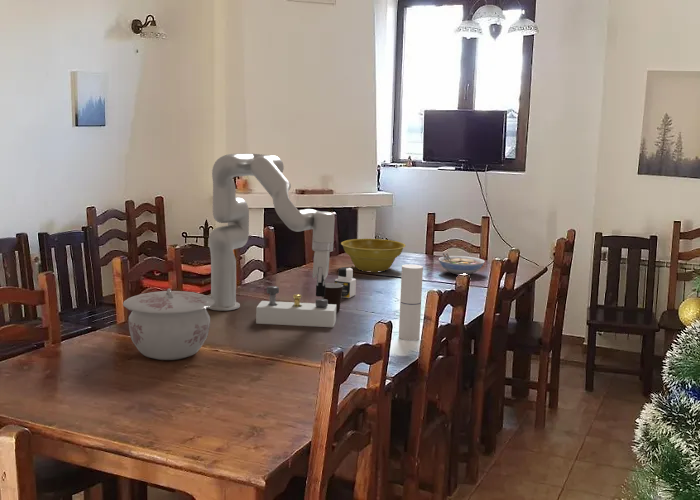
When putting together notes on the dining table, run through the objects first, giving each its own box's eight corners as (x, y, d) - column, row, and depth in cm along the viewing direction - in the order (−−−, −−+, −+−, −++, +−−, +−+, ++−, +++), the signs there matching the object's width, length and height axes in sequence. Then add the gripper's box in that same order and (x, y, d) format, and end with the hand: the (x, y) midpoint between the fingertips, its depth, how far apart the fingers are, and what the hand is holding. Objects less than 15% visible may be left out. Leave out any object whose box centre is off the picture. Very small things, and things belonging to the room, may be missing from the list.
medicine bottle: (333, 296, 320) (334, 268, 318) (340, 293, 327) (341, 265, 325) (349, 298, 317) (350, 270, 315) (355, 295, 324) (356, 267, 322)
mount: (256, 323, 274) (256, 307, 273) (261, 316, 284) (261, 300, 283) (333, 327, 272) (333, 311, 271) (335, 320, 282) (336, 304, 281)
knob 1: (265, 308, 275) (265, 288, 274) (267, 305, 280) (267, 285, 278) (277, 309, 275) (277, 288, 274) (279, 306, 279) (279, 286, 278)
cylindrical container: (405, 341, 257) (409, 268, 253) (394, 335, 264) (398, 265, 259) (423, 339, 261) (427, 267, 256) (412, 333, 267) (415, 263, 263)
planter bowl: (383, 279, 358) (384, 251, 356) (327, 270, 376) (328, 243, 373) (415, 269, 385) (417, 243, 383) (362, 261, 402) (363, 236, 400)
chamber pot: (169, 374, 217) (169, 303, 213) (104, 356, 231) (102, 289, 228) (234, 351, 240) (234, 287, 237) (171, 336, 254) (170, 275, 251)
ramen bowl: (488, 280, 364) (489, 263, 363) (440, 278, 364) (441, 262, 363) (479, 270, 389) (480, 254, 387) (435, 268, 389) (436, 253, 388)
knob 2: (314, 321, 275) (314, 301, 274) (315, 318, 279) (316, 298, 278) (326, 322, 275) (327, 301, 273) (327, 319, 279) (328, 299, 278)
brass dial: (292, 309, 275) (292, 295, 275) (293, 307, 278) (293, 294, 278) (300, 309, 275) (300, 296, 274) (301, 307, 278) (301, 294, 277)
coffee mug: (339, 313, 291) (340, 288, 289) (317, 312, 293) (318, 286, 291) (345, 307, 302) (346, 282, 301) (324, 305, 304) (325, 280, 302)
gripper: (314, 242, 280) (312, 290, 283) (309, 249, 265) (307, 300, 269) (335, 243, 280) (332, 292, 283) (331, 250, 265) (328, 301, 268)
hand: (320, 295), depth 276 cm, fingers closed
